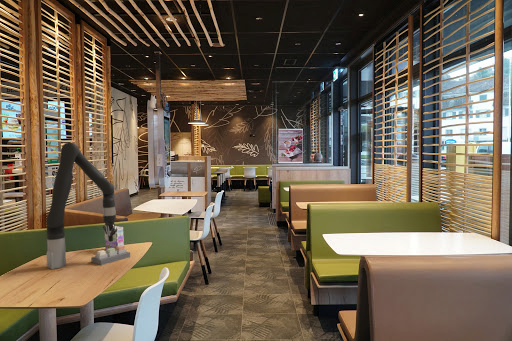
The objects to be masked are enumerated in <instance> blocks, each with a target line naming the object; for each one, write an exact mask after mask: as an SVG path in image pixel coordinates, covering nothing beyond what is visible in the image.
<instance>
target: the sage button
mask: <svg viewBox="0 0 512 341" xmlns="http://www.w3.org/2000/svg"><path fill="white" fill-rule="evenodd" d="M106 252H108V253H112V252H115V248H109V249H107V250H106Z"/></svg>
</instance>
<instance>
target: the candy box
mask: <svg viewBox="0 0 512 341" xmlns="http://www.w3.org/2000/svg"><path fill="white" fill-rule="evenodd" d="M115 227H117V231H116V233H115V235H113V241H111V242H109V241H108V235H107V234H106V233H105V231H104V232H103V233H104V249H105V250H104V251H107V249H109V248H115V249H116V247H117V246H124V247H125V240H124V238H125V237H124V236H125V235H124V227H123V226H117V225H115Z"/></svg>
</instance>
